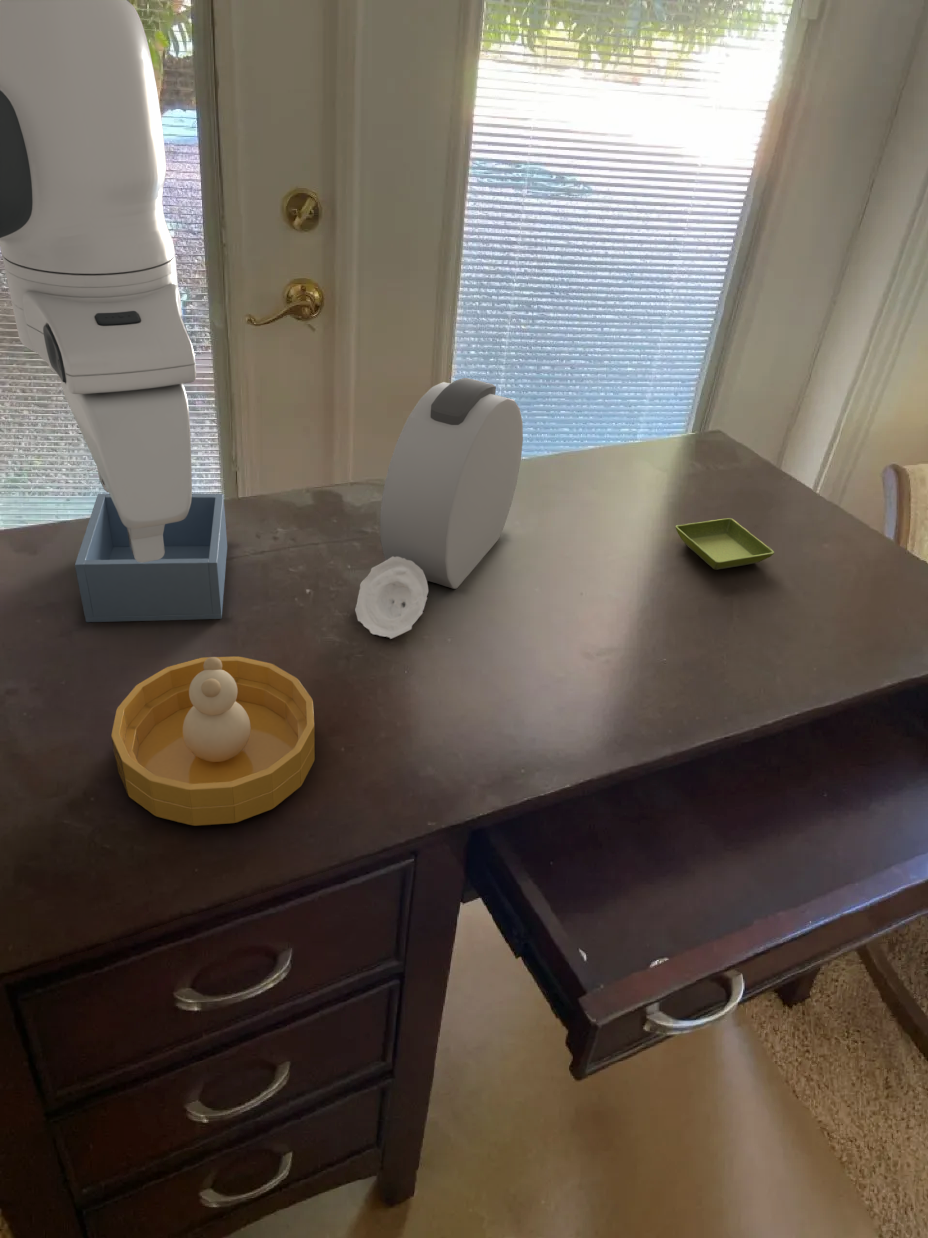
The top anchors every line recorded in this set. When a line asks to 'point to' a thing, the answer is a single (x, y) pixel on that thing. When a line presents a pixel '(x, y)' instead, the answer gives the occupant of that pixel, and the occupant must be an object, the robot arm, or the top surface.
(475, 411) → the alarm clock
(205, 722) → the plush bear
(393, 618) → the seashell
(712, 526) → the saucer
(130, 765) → the bowl
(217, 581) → the bin
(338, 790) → the top surface
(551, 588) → the top surface
